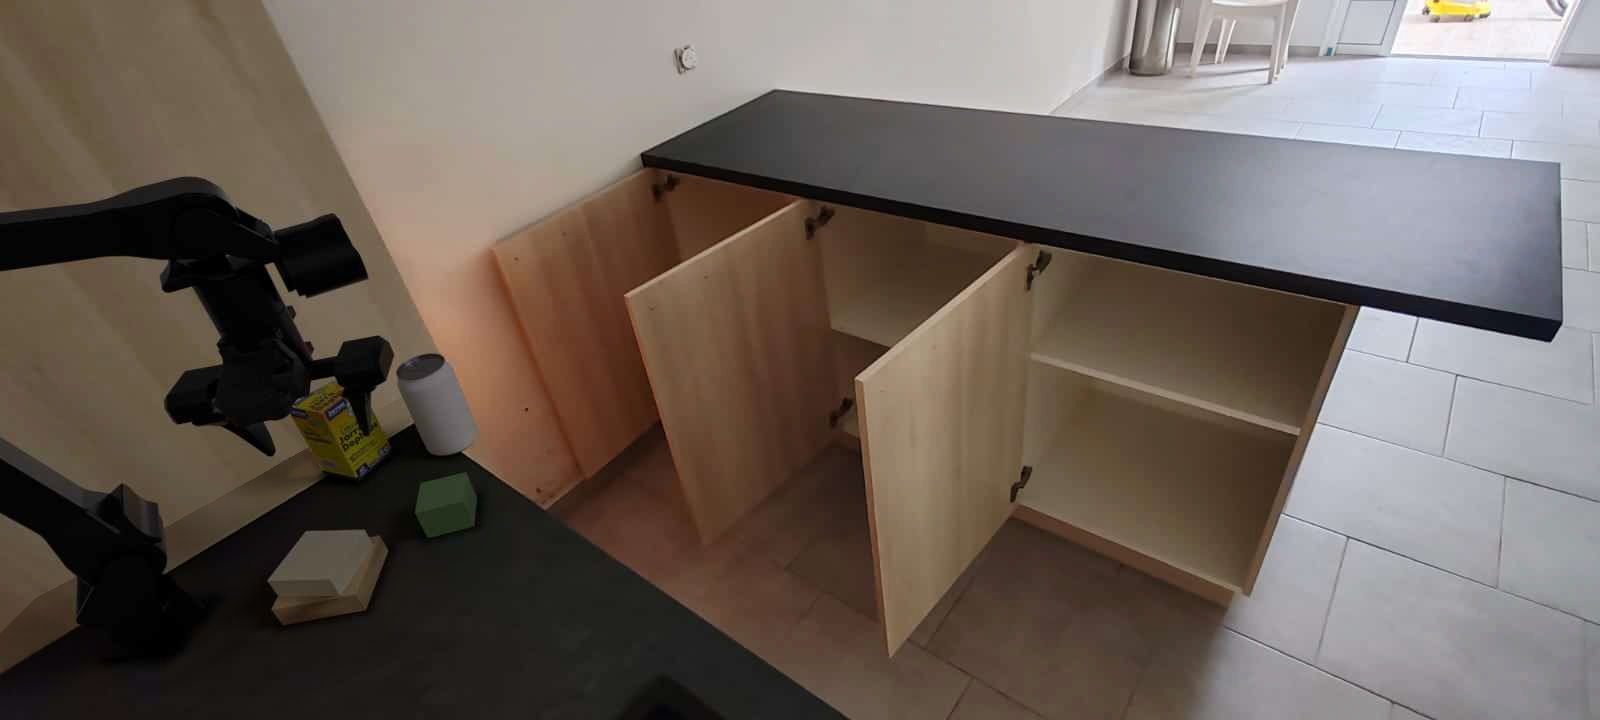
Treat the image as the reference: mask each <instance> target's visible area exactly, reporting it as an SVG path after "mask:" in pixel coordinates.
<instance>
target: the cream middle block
mask: <svg viewBox="0 0 1600 720" xmlns="http://www.w3.org/2000/svg"><path fill="white" fill-rule="evenodd" d="M369 537H370V536H369V535H368V533H367V531H366V530H365V529H339V530H335V529H334V530H306V531H305V532H304V533H303V534H302V536H301V537H300V538H299V540H298V541H297V542H296V543H295V544H294V546H293V547H292V548H291V550H290V551H289V552H288V553H287V555H286V556H285V558H283V559H282V561H281V562H280V563H279V565H278V566H277V567H276V569H275V570H274V571H273V573H272V574H271V575H270V576H269V578H268V579H267V582H268V584H269V585H270V587H271V589H272V590H273V591H274V593H276V595H277V597H278V596H279V597H303V596H341V594H342V593H343V591H344V590H345V588H346V587H347V585H348V584H349V582H350V581H351V579H352V578H353V576H354V575H355V573H356V572H357V570H358V569H359V567H360V566H361V564H362V563H363V561H364V560H365V558H366V557H367V555H368V554H369V552H370V551H371V549H372V548H373V546H374V545H373V543H372V542H371V540H370V538H369Z"/></svg>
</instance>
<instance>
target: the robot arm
mask: <svg viewBox="0 0 1600 720" xmlns="http://www.w3.org/2000/svg"><path fill="white" fill-rule="evenodd" d="M108 257H109V258H111V257H112V258H113V257H114V258H115V257H116V258H117V257H118V258H119V257H130V258H138V259H147V260H157V261H167V265H166V266H165V268H164V269H163V270H162V272H161V273H160V274H159V282H160V286H161V291H162V292H164V293H166V294H172V293H175V292H179V291H181V290H185V289H189V288H192V289H193V292H194V293H195V295H196V297H197V298H198V300H199V302H200V303H201V305H202V307H203V308H204V310H205V312H206V314H207V315H208V317H209V318H210V320H211V322H212V324H213V326H214V327H215V329H216V331H217V332H218V333H217V334H218V335H219V336H220V338H219V340H218V341H217V342H216V346H217V348H218V353H219V355H220V357H221V360H222V363H221V364H215V365H210V366H205V367H200V368H194V369H189V370H184V372H183V373H182V374H181V376H180V377H179V378H178V380H177V381H176V382H175V383H174V385H173V386H172V388H171V389H170V390H169V392H168V393H167V394H166V396H165V398H164V399H163V407H164V411H165V412H166V414H167V415H168V417H169V418H170V419H171V421H172V422H173V423H174V424H175V425H177V426H179V425H184V424H189V423H191V424H192V425H193V426H194V427H198V428H199V427H205V426H208V427H219V428H220V427H221V428H223V429H224V430H226V431H229V432H231V433H232V434H234V435H236V436H237V437H239V438H241V439H242V440H244V441H245V442H246V443H248V444H249V445H251V446H253V447H254V448H255V449H257V450H258V451H259V452H261V453H262V454H264V455H265V456H267V457H268V458H269V457H270V458H272V457H274V456H275V454H276V452H277V449H276V446H275V443H274V440H273V438H272V435H271V433H270V431H269V430H268V427H267V425H266V423H265V422H269V421H272V422H276V421H280V420H284V419H285V418H287V417H288V416H289V415H290V413H291V411H292V407H293V405H292V404H294V403H295V401H296V400H297V399H299V398H303V397H307V396H309V394H310V390H311V385H312V381H317V380H325V379H330V378H334V379H335V380H336V381H337V382H338V384H339V386H341V387H343V388H344V390H343V392H342V395H341V396H342V397H343V398H345V399H346V400H348V401H349V403H350V405H351V408H352V410H353V413H354V415H355V418H356V420H357V423H358V425H359V428H360V429H361V431H362V432H363V434H364V436H369V435H370V432H371V408H372V393H373V392H374V391H375V390H376V389H377V387H378V386H380V385H381V384H383V383H385V382H387V380H388V377H389V373H390V370H391V367H392V365H393V361H394V358H395V355H396V354H395V353H394V350H393V347H392V346H391V343H390V341H388V340H387V339H385V338H384V337H383V336H380V335H379V334H378V335H372V336H366V337H361V338H356V339H350V340H344V341H342V344H341V345H340V348H339V350H338V352H337V354H336V355H333V356H329V357H324V358H319V359H314V358H313V353H314V351H315V348H314V346H313V343H312V341H311V340H307V341H305V340H304V338H303V336H302V334H301V331H299V328H298V327H297V324H296V323H295V321H294V320H295V318H296V316H297V312H296V310H295V308H294V306H293V304H291V305H286V303H285V301H284V299H283V298H282V296H281V293H280V291H279V289H278V287H277V286H276V284H275V282H274V280H273V278H272V275H271V274H270V272H269V270H268V268H267V266H266V265H270V264H273V265H274V266H275V269H276V271H277V272H278V275H279V276H280V279H281V281H282V283H283V284H284V287H285V288H286V291H287V292H288V293H293V292H295V291H296V293H297V295H298V297H299V298H300V297H304V296H305V298H306V299H308V300H309V299H311V298H314V297H317V296H319V295H323V294H326V293H329V292H332V291H336V290H339V289H342V288H345V287H349V286H351V285H354V284H357V283H361V282H364V281H367V280H369V273H368V270H367V269H366V266H365V263H364V260H363V258H362V256H361V254H360V253H359V251H358V250H357V248H356V247H355V246H354V244H353V242H352V241H351V239H350V237H349V235H348V233H347V231H346V230H345V228H344V226H343V223H342V221H341V219H340V218H339V216H338V215H337V214H336V213H333V212H330V213H327V214H323V215H320V216H318V217H316V218H313V219H312V220H308V221H306V222H302V223H298V224H294V225H291V226H287V227H283V228H280V229H276V230H273V229H272V227H271V226H270V224H269V223H268V222H265V221H264V220H263V219H261V218H258V217H255V216H254V215H252V214H250V213H248V212H246V211H245V210H244V209H241V208H239V207H238V206H236V205H235V204H234V203H233V200H232V199H231V197H230V194H228V193H227V192H226V191H225V190H224V189H223V188H222V187H221V186H219V185H217V184H215V183H213V182H212V181H210V180H208V179H206V178H203V177H198V176H184V175H183V176H179V177H173V178H170V179H166V180H165V179H164V180H161V181H157V182H154V183H150V184H145V185H142V186H138V187H135V188H132V189H129V190H127V191H124V192H121V193H118V194H116V195H113V196H110V197H108V198H104V199H100V200H95V201H92V202H87V203H77V204H68V205H59V206H49V207H41V208H32V209H31V208H30V209H22V210H14V211H4V212H3V211H2V212H0V272H1V273H2V272H9V271H15V270H23V269H29V268H37V267H44V266H49V265H57V264H64V263H71V262H72V263H73V262H77V261H78V262H79V261H86V260H93V259H100V258H108ZM159 507H160V506H159V503H158V502H155V501H151V500H147V499H145V498H143V497H141V496H140V495H138V494H137V493H136V492H135V491H134V490H133V489H132V488H131V487H130V486H129V485H128V484H125V483H124V482H123V483H120V484H119V485H117V486H116V487H115V488H113V490H112V491H110V493H109V492H103V491H97V490H89V489H86V488H84V487H82V486H81V485H79V484H77V483H76V482H74V481H72V480H71V479H69V478H68V477H66V476H64V475H63V474H61V473H59V471H56V470H55V469H53V468H51V467H50V466H48V465H46V464H45V463H43V462H42V461H40V460H38V459H37V458H35V457H34V456H32V455H31V454H29V453H27V452H26V451H24V450H22V449H21V448H19V447H18V446H16V445H14V444H13V443H11V442H10V441H9V440H6V439H5V438H3V437H2V436H0V515H2V516H3V517H6V518H8V519H10V520H12V521H13V522H15V523H17V524H19V525H20V526H22V527H24V528H26V529H28V530H29V531H31V532H33V533H35V534H37V535H38V536H39V537H41V538H42V539H43V540H44V541H45V542H46V543H47V545H48V546H49V547H50V549H51V550H52V551H53V553H54V554H55V555H56V557H57V558H58V560H60V562H61V563H62V565H63V566H64V567H65V569H67V570H68V571H69V572H71V573H72V575H74V576H75V577H76V600H75V601H76V603H75V604H76V605H75V609H76V610H75V623H76V624H78V625H80V626H83V627H85V628H88V629H90V630H92V631H95V632H100V631H102V630H104V631H106V633H107V634H108V635H109V636H110V637H111V638H112V639H113V640H114V641H115V643H114V645H113V646H112V647H111V648H110V649H109V651H108V652H106V655H105V657H106V659H107V660H108V661H119V660H133V659H145V658H147V659H148V658H159V657H169V656H171V655H173V654H174V653H175V651H177V649H178V648H179V647H180V645H181V644H182V642H183V641H184V640H185V638H186V637H187V636H188V635H189V633H190V632H191V631H192V629H193V628H194V627H195V625H196V624H197V623H198V622H199V620H200V619H201V617H202V616H203V615H204V613H205V612H206V611H207V609H208V608H209V607H210V606H211V604H212V600H210V598H209V597H204V598H203V597H202V598H192V597H190V595H189V594H188V593H187V591H185V589H184V588H183V587H182V586H179V585H178V584H177V582H176V581H175V580H174V579H173V578H172V577H171V575H170V574H169V573H164V571H165V569H167V568H166V567H167V563H168V553H167V551H168V550H167V545H166V544H167V543H166V534H165V527H164V520H163V518H162V516H161V515H160V508H159Z"/></svg>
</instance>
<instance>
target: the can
mask: <svg viewBox="0 0 1600 720" xmlns="http://www.w3.org/2000/svg"><path fill="white" fill-rule="evenodd" d="M395 376H396V377H397V382H396V385H397V389H398V391H399V393H400V395H401V397H402V399H403V402H404V404H405V407H406V408H407V410H408V412H409V414H410V417H411V419H412V421H413V423H414V425H415V427H416V430H417V432H418V434H419V436H420V438H421V440H422V442H423V445H424V447H425V449H426V450H427V451H428V452H429V454H431V455H434V456H438V457H449V456H453V455H457V454H460V453H461V452H463V451H465V450H467V449H469V448H470V447H471V446H472V445H473V444H474V443H475V441H476V439H477V438H478V435H479V429H478V426H477V424H476V421H475V419H474V416H473V414H472V412H471V409H470V407H469V404H468V401H467V399H466V396H465V394H464V392H463V390H462V387H461V384H460V382H459V379H458V377H457V375H456V373H455V370H454V368H453V366H452V365H451V364H450V363H449V362H448V361H446V358H445V356H444V355H442V354H440V353H437V352H436V353H435V352H433V353H432V352H430V353H429V352H428V353H423V354H418V355H415V356H413V357H411V358H409V359H407V360H405V361H403V362H402V363H401V364H400V365H399V366H398V367H397V369H396V370H395Z"/></svg>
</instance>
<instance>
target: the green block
mask: <svg viewBox="0 0 1600 720" xmlns="http://www.w3.org/2000/svg"><path fill="white" fill-rule="evenodd" d="M417 494H418V495H417V499H416V504H415V510H414V514H415V517H416V518H417V520H418V522H419V524H420V527H421V528H422V530H423V532H424V534H425V536H426V538H427V539H431V538H435V537H439V536H442V535H447V534H451V533H454V532H458V531H463V530H466V529H470V528H473V527H475V523H476V515H477V513H476V512H477V503H478V502H477V500H478V496H477V493H476V491H475V489H474V487H473V485H472V482H471V480H470V478H469V476H468V474H467V471H465V472H461V473H456V474H453V475H448V476H443V477H441V478H436V479H433V480H429V481H424V482H420V485H419V489H418V493H417Z"/></svg>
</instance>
